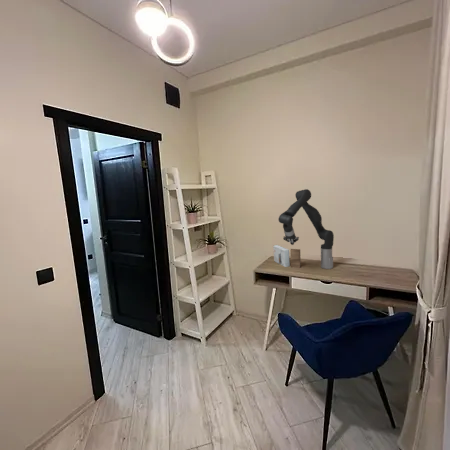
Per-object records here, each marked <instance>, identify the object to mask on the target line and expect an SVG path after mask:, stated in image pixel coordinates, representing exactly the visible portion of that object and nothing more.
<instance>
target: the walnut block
mask: <svg viewBox="0 0 450 450" xmlns="http://www.w3.org/2000/svg"><path fill="white" fill-rule="evenodd" d="M289 259H290V268H294V269H295V268H296V269H297V268H298V269H300V268H301V261H302V260H301V248H290V249H289Z"/></svg>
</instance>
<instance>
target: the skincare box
mask: <svg viewBox="0 0 450 450" xmlns="http://www.w3.org/2000/svg"><path fill="white" fill-rule="evenodd" d="M272 247H273V260H274V262H275V263H277V264H278V265H281V266H283V267H285V268H286V267H291V260H290V249H288V248H286V247H283V246H282V245H279V244H276V245H273V246H272Z"/></svg>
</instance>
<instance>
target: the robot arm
mask: <svg viewBox="0 0 450 450" xmlns="http://www.w3.org/2000/svg"><path fill="white" fill-rule="evenodd" d="M311 197H312V192H311V190H309V189H308V188H307V189H306V188H305V189H302V190H298V191H296V192H295V198H296V201H294V202H293V203H292V204H290V206H289V207H288V208H287V210H285V211H283V212H282V213H280V214H279V216H278V222H279V223H280V224H282V228H283V233H284V235H285V236H283V241H286V242H287V243H290V245H291V246H294V245H295V243H297V241H299V238H300V237H299V236H297V235H296V234H295V230H294V227H293V221H294V217H295V216H296V214H297V213H298V212H299V211H300V209H301V208H302V209H303V211H304V212H305V214H306V215H307V217H308V218H309V219H308V220H309V221H310V222H311V224H312V225H313V227H314V229H315V231H316V233H317V236H318V238H319V239H321V240H322V241H324V242H323V243H322V244H320V268H321V269H327V270H331V269H333V268H334V256H333V246H334V238H335V236H334V232H333V231H332V230H330V229H329V230H328V229H325V227H324V226H323V223H322V221H323V220H322V215H321V213H320V211H319V210H318V209H317V208H316V207H315V206H314V205H311V204H310V203H308V201H310V199H311Z"/></svg>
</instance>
